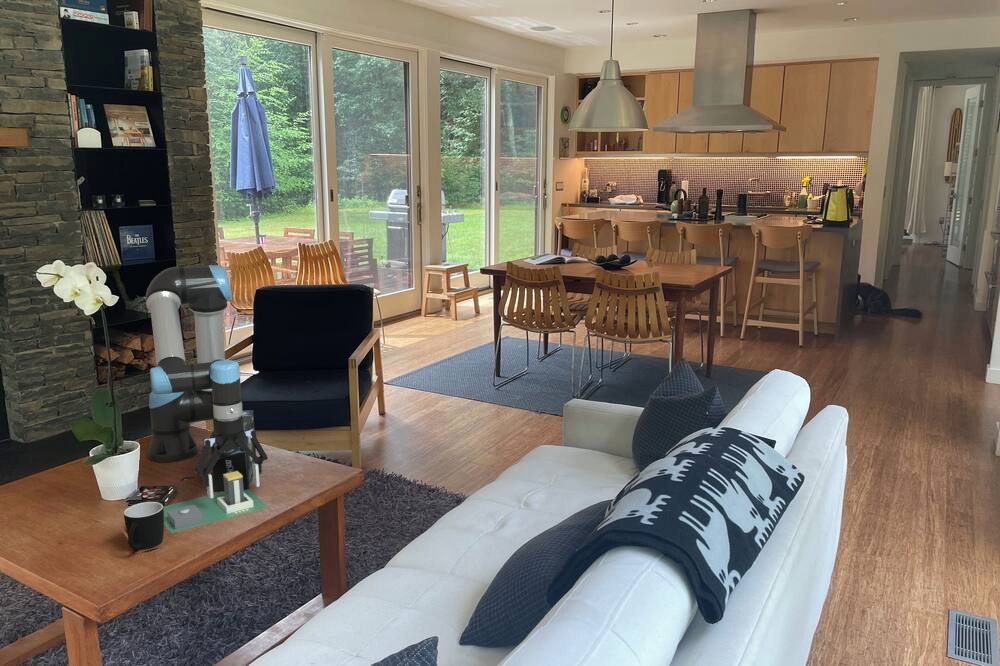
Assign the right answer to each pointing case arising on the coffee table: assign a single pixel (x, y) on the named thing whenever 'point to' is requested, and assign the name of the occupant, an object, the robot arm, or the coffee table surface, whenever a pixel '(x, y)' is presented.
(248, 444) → the box
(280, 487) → the coffee table surface
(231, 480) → the plug
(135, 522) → the mug
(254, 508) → the board
